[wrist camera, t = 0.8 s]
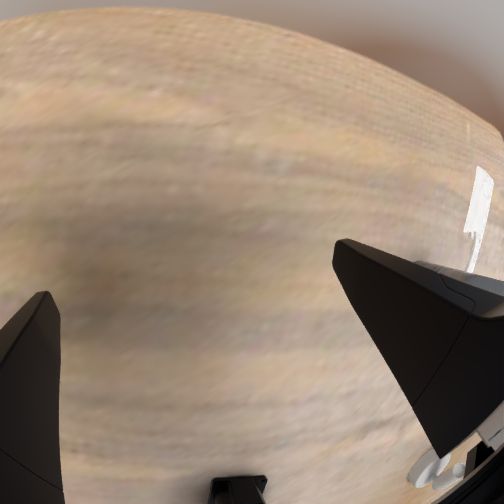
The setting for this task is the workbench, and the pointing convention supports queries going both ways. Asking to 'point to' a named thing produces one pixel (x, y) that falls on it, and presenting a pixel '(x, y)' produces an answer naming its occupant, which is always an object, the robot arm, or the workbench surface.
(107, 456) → the workbench surface
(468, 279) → the shiny metal cylinder
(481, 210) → the butcher knife
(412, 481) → the wall hook
